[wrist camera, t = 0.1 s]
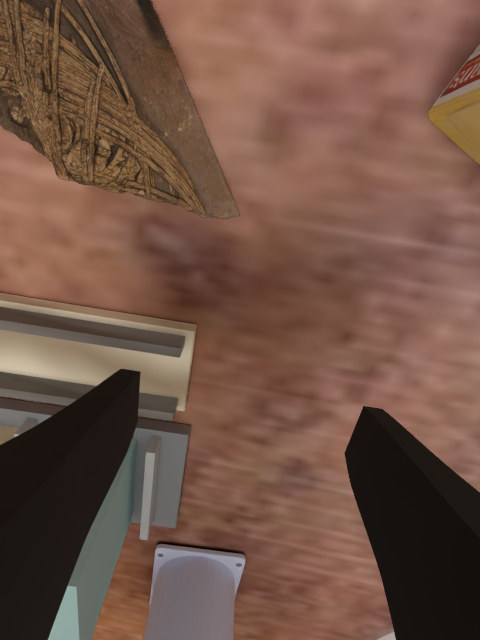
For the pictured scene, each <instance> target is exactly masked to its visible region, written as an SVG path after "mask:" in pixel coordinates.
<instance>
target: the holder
mask: <svg viewBox="0 0 480 640" xmlns="http://www.w3.org/2000/svg"><path fill="white" fill-rule="evenodd" d="M196 328H197V325H196V324H190V323H184V322H178V321H171V320H165V319H159V318H153V317H147V316H141V315H134V314H128V313H122V312H116V311H110V310H104V309H98V308H91V307H85V306H79V305H73V304H67V303H61V302H55V301H48V300H42V299H36V298H30V297H24V296H18V295H12V294H5V293H0V396H4V397H11V398H17V399H24V400H31V401H38V402H45V403H52V404H58V405H65V406H68V405H70V404H71V403H73V402H74V401H76V400H77V399H79V398H80V397H81V396H83V395H84V394H86V393H87V392H89V391H90V390H91V389H93V388H94V387H96V386H97V385H98V384H100V383H101V382H103V381H104V380H105V379H107V378H108V377H110V376H111V375H112V374H114V373H115V372H117V371H118V370H120V369H127V370H134V371H140V372H141V373H140V390H139V407H138V416H140V417H147V418H154V419H161V420H168V421H173V419H174V415H175V412H176V410H178V411H185V407H186V403H187V396H188V389H189V381H190V374H191V366H192V358H193V351H194V343H195V335H196Z"/></svg>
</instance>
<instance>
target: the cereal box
mask: <svg viewBox="0 0 480 640" xmlns="http://www.w3.org/2000/svg"><path fill="white" fill-rule="evenodd" d="M428 115H429V118H430V121H431V122H432V123H433V124H434V125H435V126H437V127H438V128H439V129H440V130H441V131H442V132H443V133H445V134H446V135H447V136H448V137H449V138H450V139H451V140H452V141H453V142H454V143H455V144H457V145H458V146H459V147H460V148H461V149H462V150H463V151H464V152H465V153H466V154H468V155H469V156H470V157H471V158H472V159H473V160H474V161H475V162H477V163H478V164H479V165H480V44H479V45H478V46H477V48H476V49H475V50H474V52H473V53H472V54H471V56H470V57H469V58H468V59H467V61H466V62H465V63H464V65H463V66H462V67H461V69H460V70H459V71H458V72H457V74H456V75H455V76H454V78H453V79H452V80H451V82H450V83H449V84H448V85H447V87H446V88H445V89H444V91H443V92H442V93H441V95H440V96H439V98H438V99H437V100H436V102H435V103H434V104H433V106H432V107H431V109H430V110H429V112H428Z"/></svg>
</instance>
